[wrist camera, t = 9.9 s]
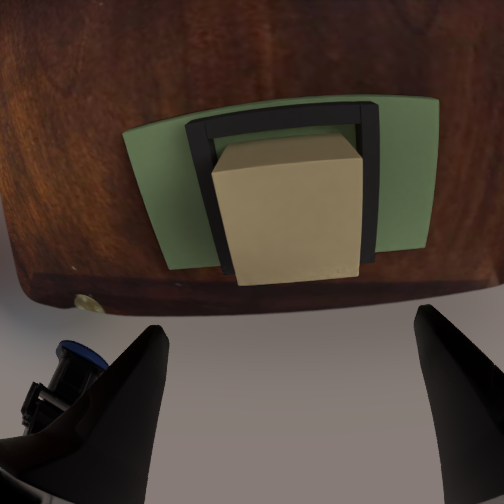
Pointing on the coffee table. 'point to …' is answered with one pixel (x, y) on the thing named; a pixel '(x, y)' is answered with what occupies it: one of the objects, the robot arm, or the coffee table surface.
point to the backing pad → (280, 125)
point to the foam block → (291, 208)
